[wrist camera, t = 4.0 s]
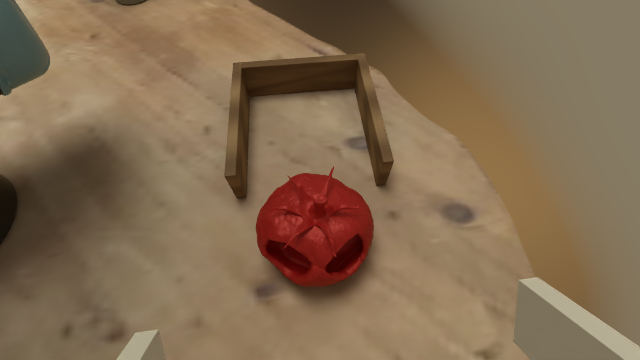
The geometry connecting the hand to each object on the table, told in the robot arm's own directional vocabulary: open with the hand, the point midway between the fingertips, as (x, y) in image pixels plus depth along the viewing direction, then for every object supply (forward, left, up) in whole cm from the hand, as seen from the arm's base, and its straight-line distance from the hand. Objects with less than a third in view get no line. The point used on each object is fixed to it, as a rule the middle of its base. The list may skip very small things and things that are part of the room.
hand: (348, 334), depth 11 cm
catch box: (+15, +16, -16) cm, 27 cm away
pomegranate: (+6, +7, -16) cm, 18 cm away
